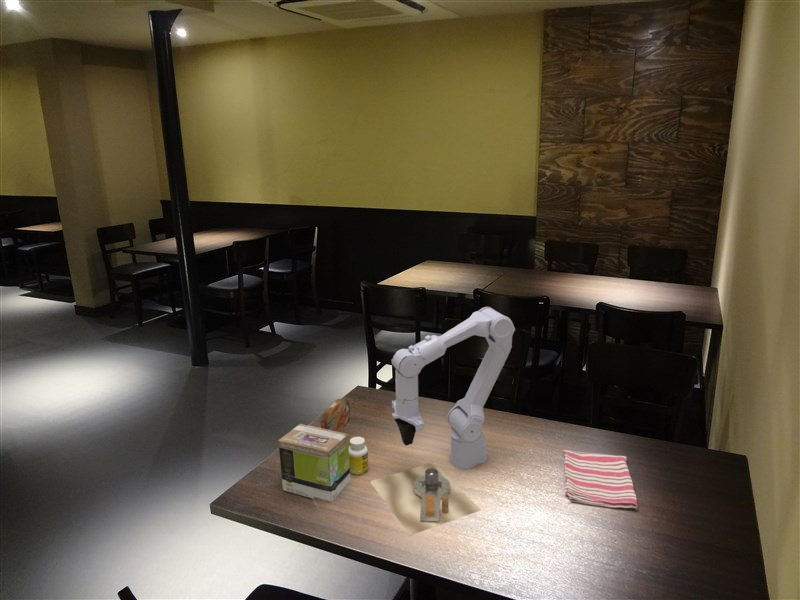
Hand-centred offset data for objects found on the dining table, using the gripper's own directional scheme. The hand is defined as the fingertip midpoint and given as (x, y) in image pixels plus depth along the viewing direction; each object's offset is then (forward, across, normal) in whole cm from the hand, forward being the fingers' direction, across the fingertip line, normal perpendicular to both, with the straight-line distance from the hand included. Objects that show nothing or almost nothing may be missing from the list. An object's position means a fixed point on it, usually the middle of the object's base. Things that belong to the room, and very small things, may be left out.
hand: (407, 443), depth 145 cm
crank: (+9, +12, 0) cm, 15 cm away
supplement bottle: (+10, -8, -11) cm, 17 cm away
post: (+10, +9, +2) cm, 14 cm away
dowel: (+10, +18, +1) cm, 20 cm away
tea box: (+10, -7, -23) cm, 26 cm away
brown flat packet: (+10, -33, -8) cm, 36 cm away
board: (+10, +10, -1) cm, 14 cm away
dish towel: (+11, +24, +43) cm, 50 cm away
